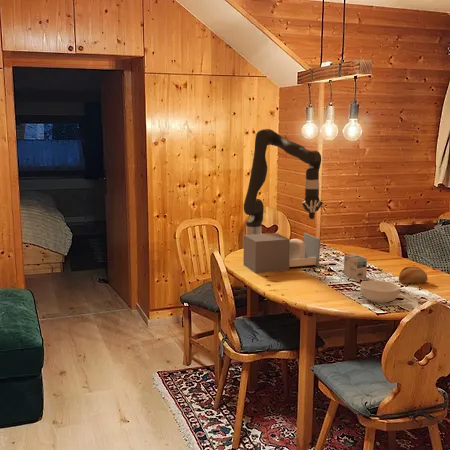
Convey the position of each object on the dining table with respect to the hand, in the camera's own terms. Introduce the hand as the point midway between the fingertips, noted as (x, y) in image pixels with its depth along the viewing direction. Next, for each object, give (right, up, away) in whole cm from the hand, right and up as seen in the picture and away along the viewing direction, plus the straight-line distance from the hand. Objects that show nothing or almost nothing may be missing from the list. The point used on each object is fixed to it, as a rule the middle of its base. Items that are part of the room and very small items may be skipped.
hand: (311, 218), depth 302 cm
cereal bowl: (+21, -37, -58) cm, 72 cm away
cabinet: (-25, -27, -3) cm, 37 cm away
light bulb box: (+19, -30, -19) cm, 41 cm away
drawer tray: (-8, -25, +3) cm, 27 cm away
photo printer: (-8, -24, +3) cm, 25 cm away
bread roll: (+45, -32, -31) cm, 63 cm away
